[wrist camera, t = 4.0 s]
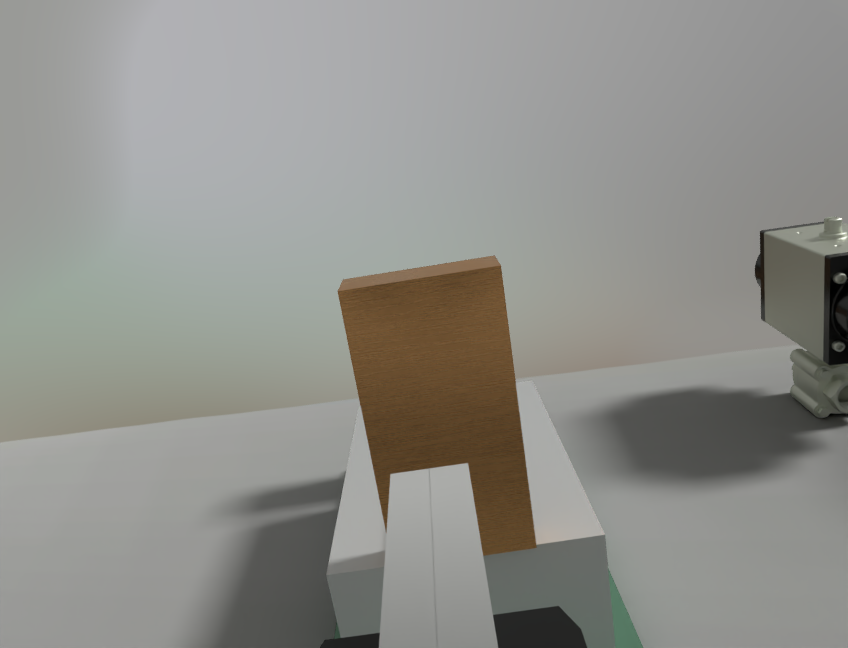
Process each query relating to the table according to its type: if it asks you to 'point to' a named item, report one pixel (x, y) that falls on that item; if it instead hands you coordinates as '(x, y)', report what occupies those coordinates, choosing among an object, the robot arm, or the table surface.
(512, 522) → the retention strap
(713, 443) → the table surface
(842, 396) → the pneumatic valve
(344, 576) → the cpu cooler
